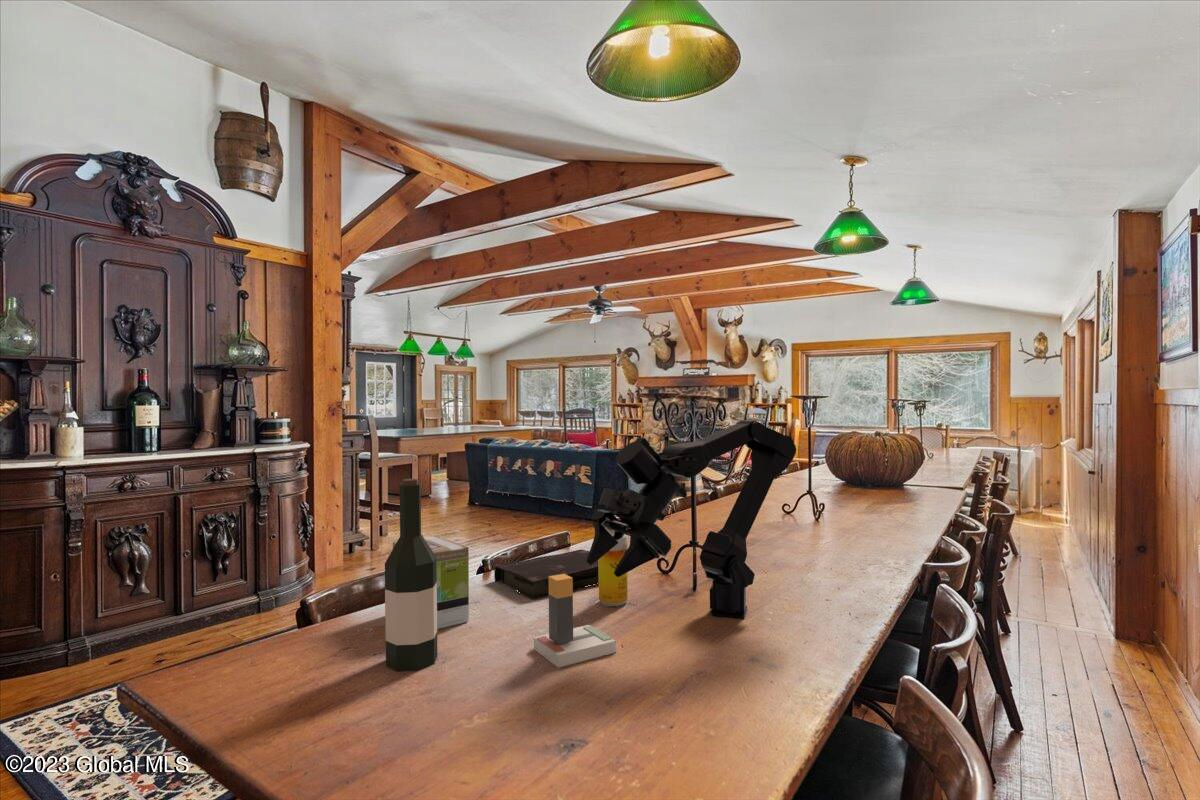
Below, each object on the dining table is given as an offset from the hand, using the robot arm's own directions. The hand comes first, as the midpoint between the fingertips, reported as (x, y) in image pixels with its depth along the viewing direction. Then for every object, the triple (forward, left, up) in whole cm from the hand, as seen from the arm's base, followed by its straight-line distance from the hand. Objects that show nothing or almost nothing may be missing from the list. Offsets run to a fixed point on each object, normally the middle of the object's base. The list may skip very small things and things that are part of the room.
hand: (601, 569), depth 112 cm
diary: (+22, -34, -14) cm, 43 cm away
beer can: (+5, -22, -13) cm, 26 cm away
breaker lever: (+5, +6, -11) cm, 13 cm away
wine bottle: (+28, +16, -13) cm, 35 cm away
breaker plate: (+4, +4, -13) cm, 14 cm away
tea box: (+37, -3, -13) cm, 39 cm away
